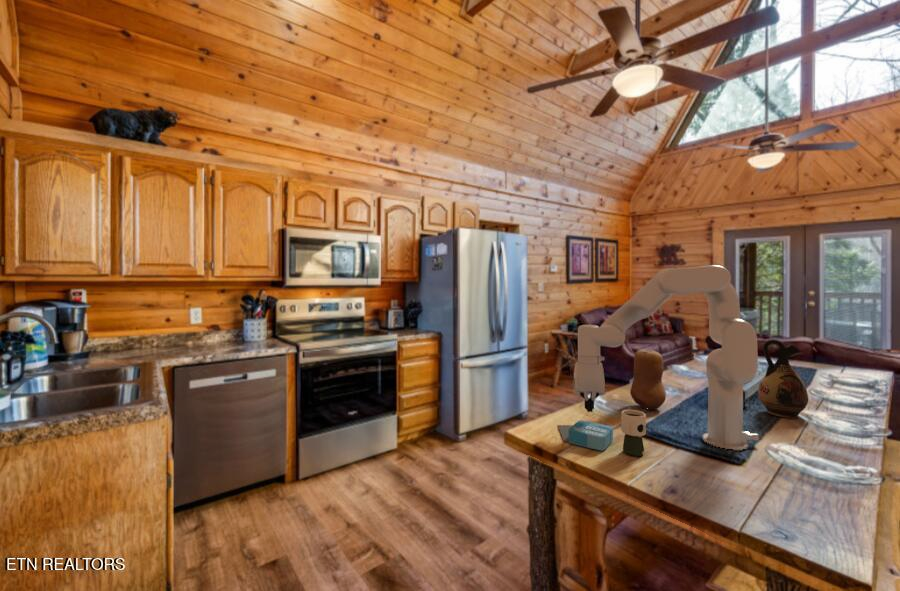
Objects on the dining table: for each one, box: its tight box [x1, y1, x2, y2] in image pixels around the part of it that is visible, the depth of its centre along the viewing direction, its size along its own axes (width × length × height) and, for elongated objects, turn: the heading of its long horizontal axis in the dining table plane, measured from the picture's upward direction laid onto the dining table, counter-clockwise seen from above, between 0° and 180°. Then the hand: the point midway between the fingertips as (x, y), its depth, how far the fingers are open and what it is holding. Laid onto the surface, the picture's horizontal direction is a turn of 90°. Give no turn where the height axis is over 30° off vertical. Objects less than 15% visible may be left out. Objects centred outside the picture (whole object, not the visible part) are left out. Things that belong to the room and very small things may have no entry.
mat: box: [557, 424, 574, 443], centre depth 144 cm, size 12×15×1 cm
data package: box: [568, 419, 614, 451], centre depth 136 cm, size 12×4×12 cm
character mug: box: [620, 409, 647, 457], centre depth 127 cm, size 11×7×13 cm, turn 134°
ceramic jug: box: [757, 338, 809, 420], centre depth 160 cm, size 17×15×30 cm
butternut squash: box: [629, 348, 667, 410], centre depth 170 cm, size 14×13×25 cm
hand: (589, 410), depth 143 cm, fingers closed
